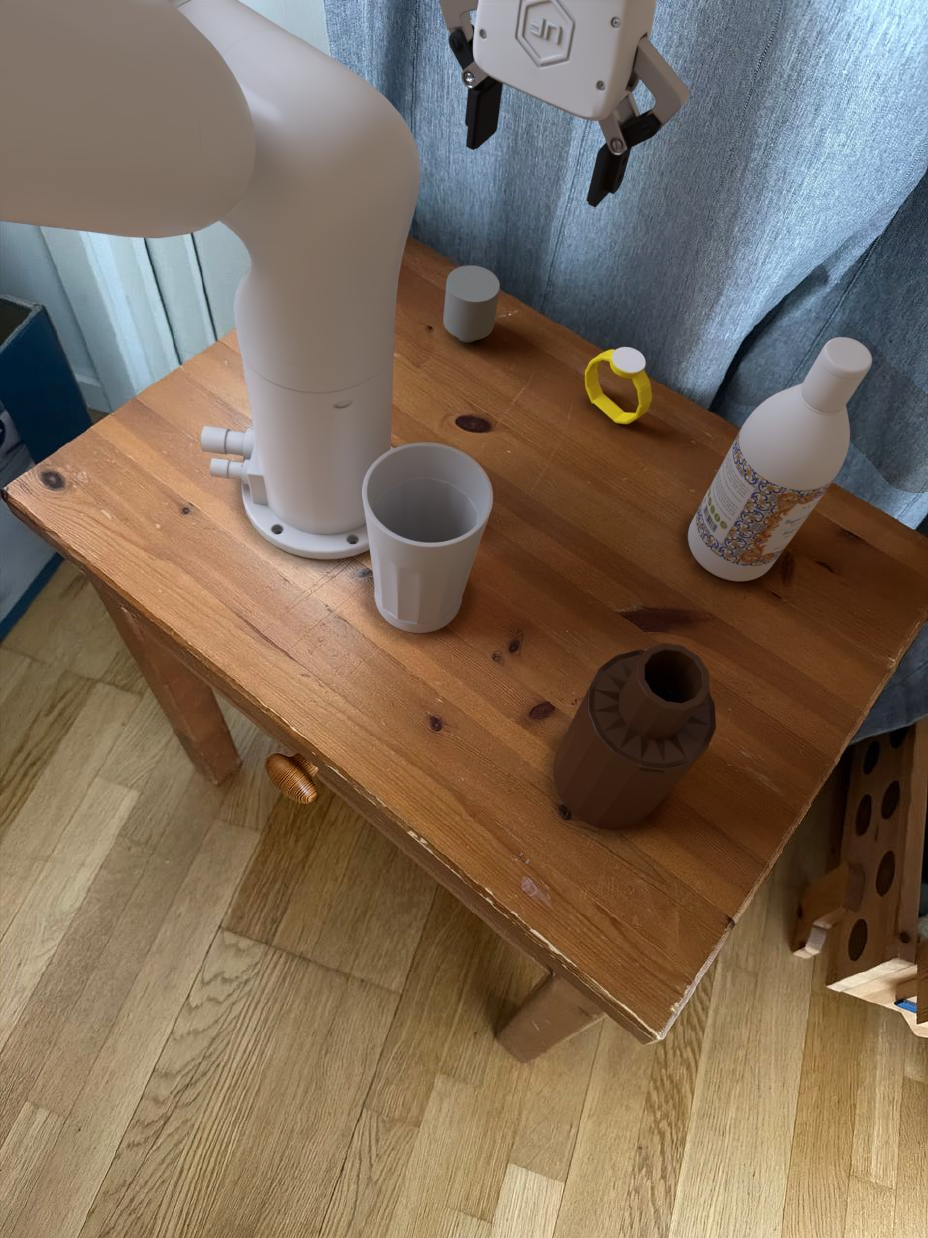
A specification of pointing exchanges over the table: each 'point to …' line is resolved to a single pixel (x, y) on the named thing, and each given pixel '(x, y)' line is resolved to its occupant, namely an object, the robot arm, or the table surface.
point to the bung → (470, 303)
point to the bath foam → (779, 467)
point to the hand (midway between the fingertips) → (539, 167)
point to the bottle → (635, 735)
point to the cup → (424, 531)
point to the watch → (626, 366)
